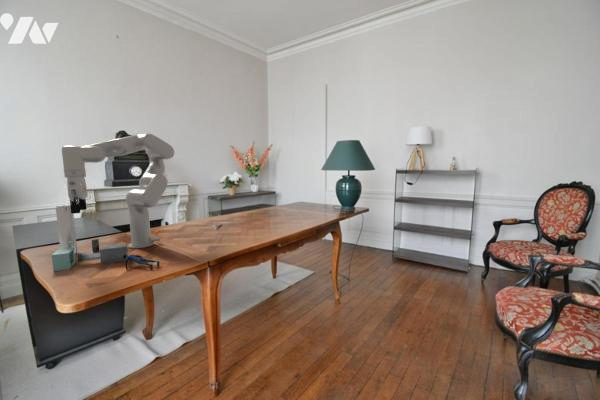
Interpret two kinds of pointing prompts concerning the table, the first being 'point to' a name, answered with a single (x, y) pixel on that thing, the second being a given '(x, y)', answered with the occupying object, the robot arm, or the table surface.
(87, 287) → the table surface
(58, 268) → the socket block
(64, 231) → the grey cylinder
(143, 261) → the person figurine
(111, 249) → the sleeve
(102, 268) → the table surface
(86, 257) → the slip tube
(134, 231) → the robot arm
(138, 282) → the table surface
